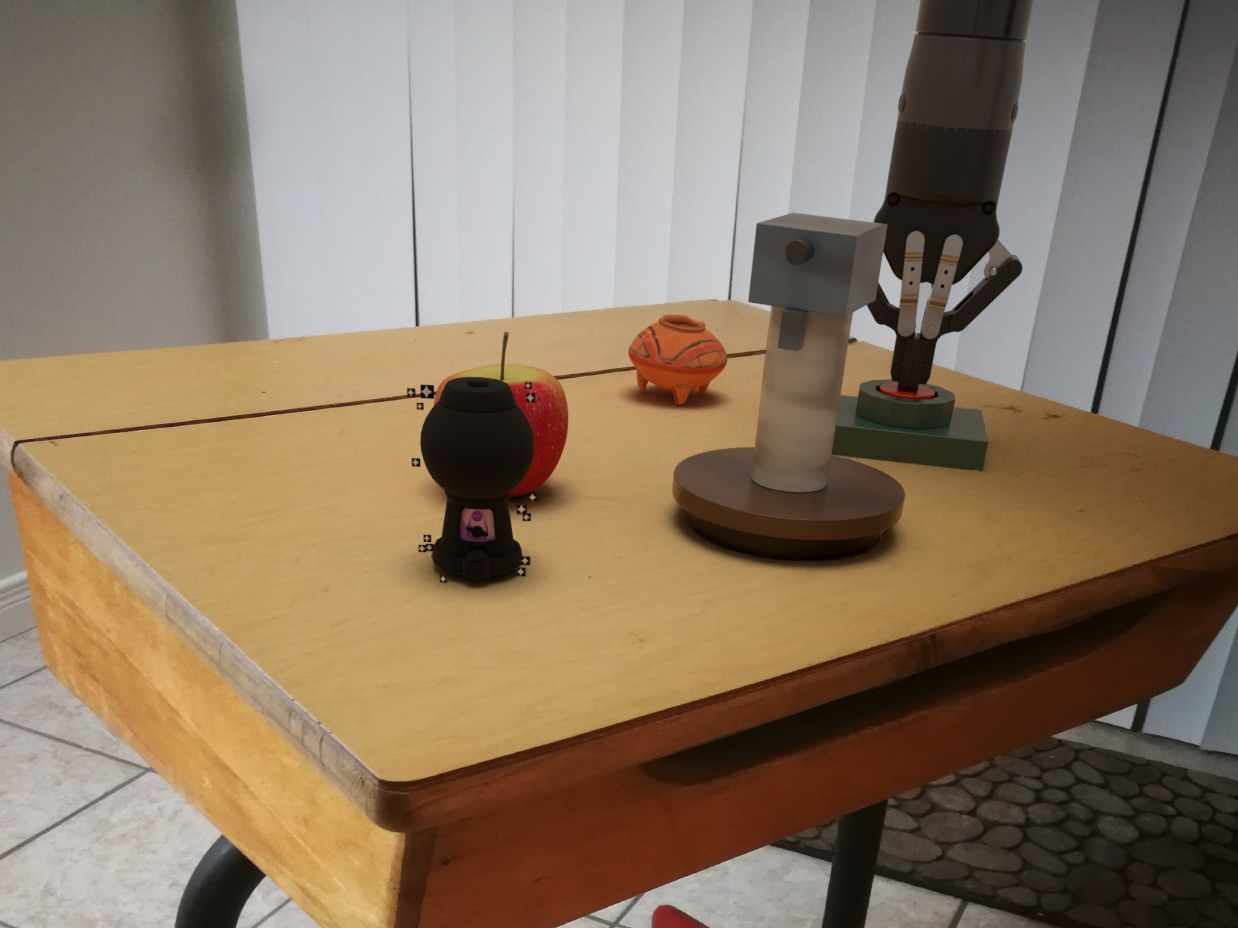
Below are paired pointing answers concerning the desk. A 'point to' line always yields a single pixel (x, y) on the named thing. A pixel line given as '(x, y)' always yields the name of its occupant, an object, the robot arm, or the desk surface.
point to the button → (906, 392)
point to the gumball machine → (477, 473)
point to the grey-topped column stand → (800, 394)
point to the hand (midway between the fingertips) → (906, 388)
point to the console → (910, 429)
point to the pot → (677, 356)
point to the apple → (531, 413)
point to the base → (781, 543)
